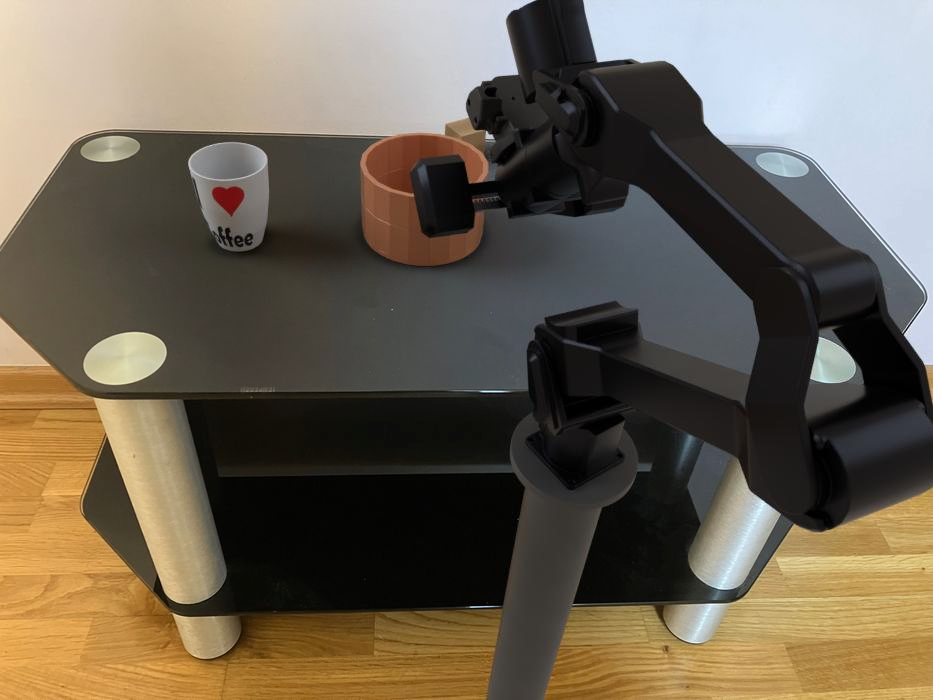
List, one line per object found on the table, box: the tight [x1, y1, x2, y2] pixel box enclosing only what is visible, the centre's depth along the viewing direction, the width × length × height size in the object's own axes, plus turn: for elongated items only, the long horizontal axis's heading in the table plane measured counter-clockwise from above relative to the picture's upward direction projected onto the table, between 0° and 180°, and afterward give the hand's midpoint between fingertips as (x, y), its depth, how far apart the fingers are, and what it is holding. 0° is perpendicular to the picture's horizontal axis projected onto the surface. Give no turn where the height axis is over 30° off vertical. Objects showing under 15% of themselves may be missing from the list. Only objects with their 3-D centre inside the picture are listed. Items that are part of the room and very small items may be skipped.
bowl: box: [359, 132, 489, 267], centre depth 90 cm, size 14×14×9 cm
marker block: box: [444, 117, 487, 156], centre depth 106 cm, size 4×4×4 cm
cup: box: [187, 141, 270, 252], centre depth 86 cm, size 8×8×10 cm
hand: (488, 211), depth 74 cm, fingers open, 9 cm apart
